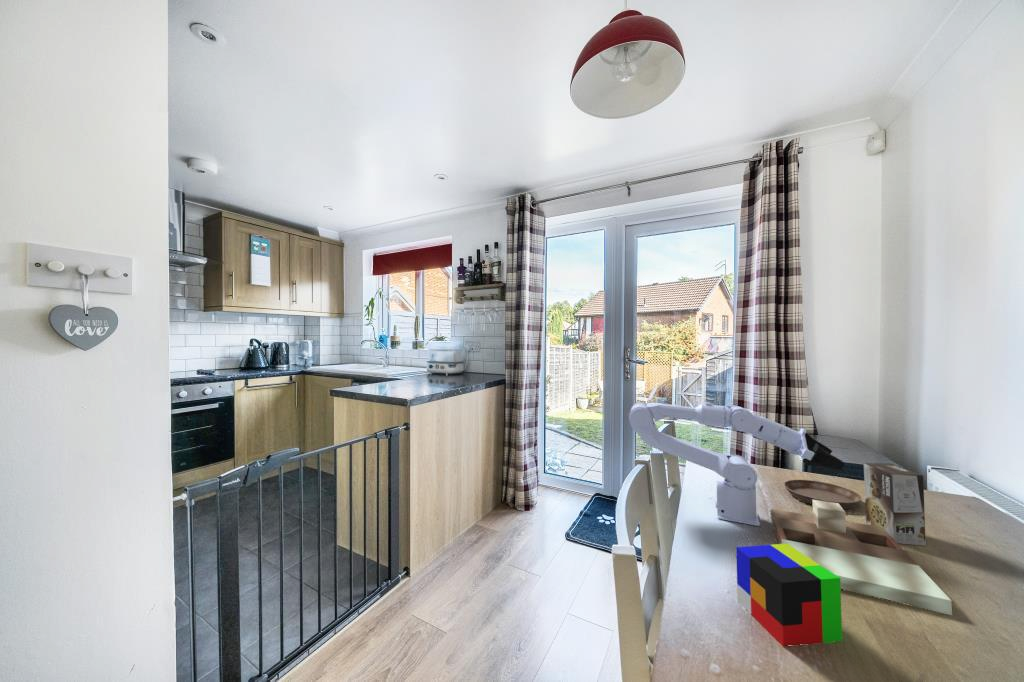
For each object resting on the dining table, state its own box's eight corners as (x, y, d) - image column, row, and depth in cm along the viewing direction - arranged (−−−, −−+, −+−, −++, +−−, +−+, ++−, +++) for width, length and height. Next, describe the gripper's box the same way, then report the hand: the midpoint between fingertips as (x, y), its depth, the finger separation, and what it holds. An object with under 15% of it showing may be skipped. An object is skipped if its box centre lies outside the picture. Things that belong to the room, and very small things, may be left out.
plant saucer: (783, 484, 120) (783, 474, 120) (855, 496, 110) (855, 486, 110) (785, 503, 106) (784, 493, 106) (868, 519, 96) (868, 507, 96)
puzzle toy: (737, 602, 66) (736, 547, 66) (788, 597, 67) (786, 543, 67) (783, 647, 56) (781, 582, 56) (842, 641, 57) (840, 577, 57)
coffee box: (927, 546, 82) (925, 475, 83) (894, 543, 84) (892, 474, 84) (894, 526, 91) (892, 462, 91) (864, 524, 93) (862, 461, 93)
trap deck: (791, 577, 72) (791, 565, 72) (770, 518, 97) (770, 508, 97) (951, 615, 62) (951, 600, 62) (882, 537, 86) (882, 527, 86)
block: (818, 528, 86) (817, 507, 86) (813, 519, 91) (812, 499, 91) (845, 533, 84) (845, 511, 84) (839, 523, 88) (838, 503, 88)
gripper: (791, 430, 87) (858, 458, 83) (776, 412, 100) (832, 436, 96) (777, 454, 89) (841, 483, 84) (763, 434, 102) (818, 458, 97)
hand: (835, 459), depth 90 cm, fingers open, 7 cm apart
